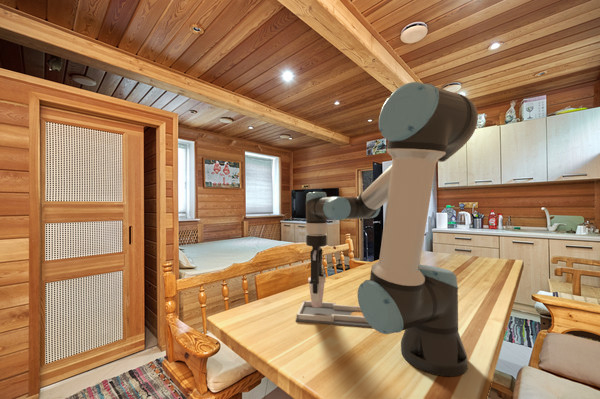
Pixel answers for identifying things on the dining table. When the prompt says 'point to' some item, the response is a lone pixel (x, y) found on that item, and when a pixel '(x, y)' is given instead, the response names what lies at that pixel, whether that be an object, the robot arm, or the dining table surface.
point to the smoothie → (321, 285)
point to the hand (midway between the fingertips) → (316, 298)
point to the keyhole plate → (332, 314)
